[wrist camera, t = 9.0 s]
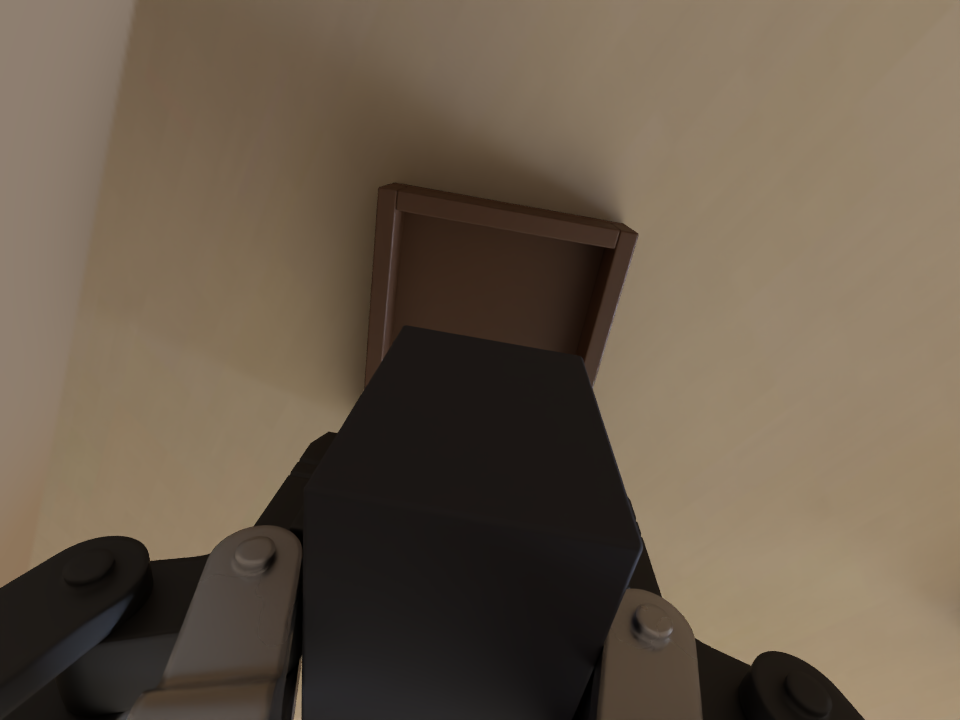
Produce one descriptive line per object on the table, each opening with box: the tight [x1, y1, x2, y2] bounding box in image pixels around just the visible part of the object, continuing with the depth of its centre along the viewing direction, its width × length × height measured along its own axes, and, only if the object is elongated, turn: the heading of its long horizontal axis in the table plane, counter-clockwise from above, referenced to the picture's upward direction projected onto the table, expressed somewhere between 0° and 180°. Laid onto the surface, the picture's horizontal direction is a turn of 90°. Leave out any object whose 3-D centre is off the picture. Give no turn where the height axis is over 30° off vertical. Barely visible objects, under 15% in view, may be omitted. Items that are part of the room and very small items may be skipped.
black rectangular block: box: [302, 325, 643, 720], centre depth 9 cm, size 4×6×6 cm, turn 171°
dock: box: [364, 183, 638, 389], centre depth 18 cm, size 8×10×2 cm
